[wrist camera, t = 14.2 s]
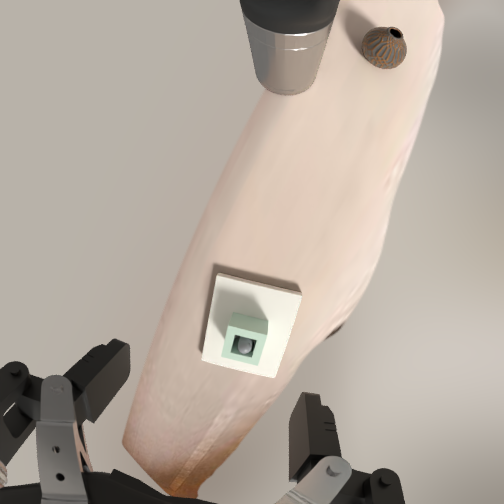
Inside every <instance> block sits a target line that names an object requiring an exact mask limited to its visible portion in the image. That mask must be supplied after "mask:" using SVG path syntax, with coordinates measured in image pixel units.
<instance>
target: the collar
mask: <svg viewBox="0 0 504 504" xmlns="http://www.w3.org/2000/svg"><path fill="white" fill-rule="evenodd" d="M268 323H269V321H267V320H263V319H259V318H255V317H251V316H247V315H243V314H239V313H235V312H233V314H232V316H231V319H230V322H229V324H228V328H227V333H226V337H225V341H224V346H223V350H222V355H221V357H224V358H228V359H232V360H236V361H240V362H244V363H248V364H252V365H256V366H258V364H259V361H260V357H261V354H262V351H263V348H264V345H265V342H266V338H267V335H268ZM235 335H238V336H242V337H246V338H250V339H254V340H255V342H253V343H252V348H251V351H250V352H249V353H246V354H243V353H241V352H239V350H238V343H239V338H235Z"/></svg>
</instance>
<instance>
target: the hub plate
mask: <svg viewBox="0 0 504 504" xmlns="http://www.w3.org/2000/svg"><path fill="white" fill-rule="evenodd" d="M301 299H302V292H297V291H293V290H289V289H284V288H280V287H276V286H272V285H267V284H263V283H259V282H255V281H251V280H247V279H243V278H239V277H235V276H231V275H227V274H223V273H218V274H217V277H216V282H215V287H214V293H213V298H212V303H211V308H210V314H209V319H208V325H207V331H206V336H205V342H204V348H203V354H202V359H201V360H202V361H205V362H209V363H213V364H216V365H220V366H224V367H228V368H232V369H236V370H240V371H244V372H248V373H253V374H257V375H262V376H267V377H272V378H275V376H276V373H277V371H278V368H279V365H280V362H281V359H282V357H283V354H284V351H285V348H286V345H287V342H288V339H289V336H290V333H291V330H292V327H293V324H294V321H295V318H296V315H297V312H298V308H299V305H300V302H301ZM233 312H235V313H239V314H243V315H247V316H251V317H255V318H259V319H263V320H267V321H269V323H268V335H267V338H266V342H265V345H264V348H263V351H262V354H261V357H260V361H259V364H258V366H256V365H252V364H248V363H244V362H240V361H236V360H232V359H228V358H224V357H221V355H222V350H223V346H224V341H225V337H226V333H227V328H228V324H229V322H230V319H231V316H232V314H233ZM235 338H239V343H238V350H239V352H241V353H243V354H246V353H249V352H250V351H251V348H252V343H253V342H255V340H254V339H250V338H246V337H242V336H238V335H235Z"/></svg>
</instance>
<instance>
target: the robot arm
mask: <svg viewBox="0 0 504 504" xmlns="http://www.w3.org/2000/svg"><path fill="white" fill-rule="evenodd" d="M339 1H340V0H240V4H241V8H242V12H243V17H244V21H245V25H246V29H247V34H248V38H249V42H250V48H251V52H252V57H253V62H254V67H255V71H256V75H257V78H258V80H259V82H260V83H261V84H262V85H263V86H264V87H265V88H266V89H267V90H269V91H271V92H273V93H276V94H280V95H295V94H299V93H301V92H304V91H305V90H307V89H308V88H309V87H310V86H311V85H312V84H313V82H314V80H315V78H316V74H317V71H318V69H319V65H320V62H321V59H322V56H323V53H324V50H325V46H326V43H327V40H328V37H329V34H330V31H331V27H332V24H333V21H334V17H335V15H336V11H337V8H338V4H339ZM129 373H130V346H129V344H127V343H125V342H122V341H120V340H117V339H112V340H111V341H110V342H109V343H108V344H107V345H106V346H105V345H103V344H101V345H99V346H96V347H94V348H92V349H91V350H90V351H89V352H88V353H87V355H85V356H84V357H82V359H80V360H79V361H78V362H77V363H76V364H75V365H74V366H73V367H71V368H70V369H69V370H68V371H67V372H66V373H65V374H64V375H63V376H60V375H51V376H48V377H47V378H45V379H42V378H39V377H36V376H33V375H30V374H29V370H28V368H27V366H26V365H25V364H23V363H21V362H18V361H14V362H9V363H7V364H6V365H5V366H4V367H2V368H1V369H0V504H216V503H212V502H207V501H203V500H199V499H193V498H181V497H172V496H165V495H163V494H161V493H160V492H158V491H156V490H155V489H153V488H151V487H150V486H148V485H146V484H145V483H143V482H141V481H140V480H139V479H136V478H134V477H131V476H129V475H127V474H124V473H122V472H120V471H118V470H116V469H113V471H112V473H111V474H110V473H105V472H93V469H92V466H91V463H90V459H89V455H88V451H87V446H86V441H85V435H84V428H83V422H84V421H85V420H86V419H87V420H89V421H91V422H92V423H94V422H95V421H96V420H97V418H98V417H99V416H100V415H101V413H102V412H103V411H104V409H105V408H106V407H107V405H108V404H109V403H110V401H111V400H112V399H113V397H114V396H115V395H116V393H117V392H118V391H119V390H120V388H121V387H122V386H123V384H124V383H125V382H126V380H127V379H128V377H129ZM14 402H15V404H14V405H13V407H12V408H11V409H10V410H9V411H8V412H7V413H6V414H5V415H4V413H5V412H6V410H7V409H8V408H9V407H10V406H11V405H12V404H13V403H14ZM3 415H4V416H3ZM35 427H36V444H37V458H38V469H39V477H40V482H39V483H33V484H26V485H18V486H8V487H4V485H5V484H6V483H7V470H6V466H7V464H8V463H9V461H10V460H11V459H12V457H13V456H14V455H15V453H16V452H17V451H18V449H19V448H20V447H21V445H22V444H23V443H24V441H25V440H26V439H27V438H28V436H29V435H30V434H31V433H32V431H33V430H34V429H35ZM289 482H297V485H296V486H295V487H294V488H293V489H292V490H291V491H289V492H288V493H286V494H285V495H284V496H283V497H282V498H281V499H280V500H279V501H277V502H276V503H275V504H405V501H404V496H403V492H402V487H401V483H400V479H399V477H398V475H397V474H396V473H395V472H394V471H392V470H390V469H386V468H381V469H377V470H376V471H374V472H373V473H372V474H368V473H364V472H360V471H356V470H354V469H352V468H351V466H350V464H349V463H348V462H347V461H346V460H345V459H343V458H342V457H341V450H340V445H339V440H338V435H337V432H336V425H335V419H334V415H333V413H332V411H331V410H330V409H329V407H328V406H323V405H321V400H320V395H319V394H314V393H307V392H302V394H301V395H300V397H299V400H298V402H297V404H296V406H295V408H294V410H293V412H292V414H291V417H290V421H289Z"/></svg>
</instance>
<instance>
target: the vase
mask: <svg viewBox="0 0 504 504" xmlns="http://www.w3.org/2000/svg"><path fill="white" fill-rule="evenodd" d="M362 50H363V53H364V55H365V57H366V59H367V60H368V61H369V62H370V63H371V64H373V65H374V66H376V67H379V68H382V69H391V68H394V67H397V66H398V65H400V64H401V63H402V62H403V60H404V59H405V56H406V52H407V47H406V43H405V41H404V39H403V34H402V32H401V31H400V30H399V29H397V28H395V27H389V28H388V27H377V28H374V29H372V30H370V31H369V32H368V33H367V34H366V35H365V37H364V39H363V43H362Z"/></svg>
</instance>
